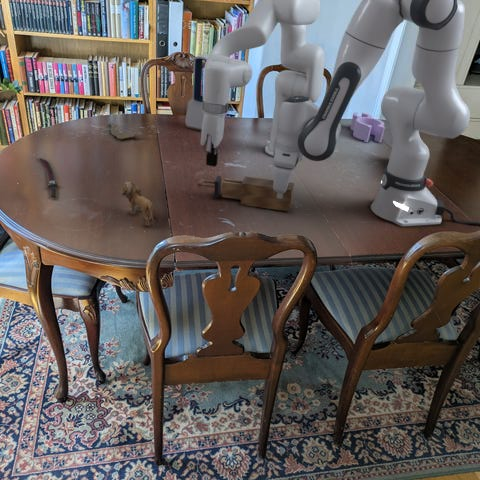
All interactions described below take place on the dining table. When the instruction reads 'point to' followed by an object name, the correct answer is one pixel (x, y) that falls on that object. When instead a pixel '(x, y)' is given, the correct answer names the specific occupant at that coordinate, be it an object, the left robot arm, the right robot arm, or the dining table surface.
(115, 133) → the jawbone
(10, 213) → the dining table surface
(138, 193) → the lion figurine
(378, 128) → the clip
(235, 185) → the wooden handle frame
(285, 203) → the cabinet
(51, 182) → the sword
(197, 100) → the electronic device
